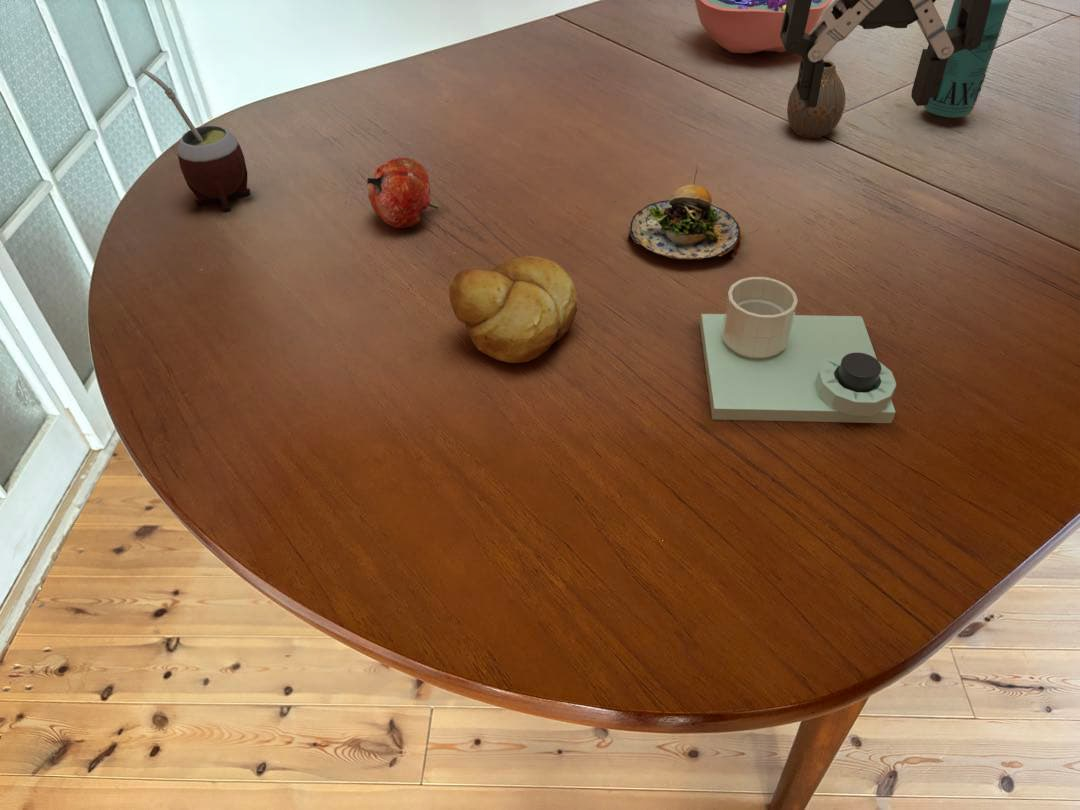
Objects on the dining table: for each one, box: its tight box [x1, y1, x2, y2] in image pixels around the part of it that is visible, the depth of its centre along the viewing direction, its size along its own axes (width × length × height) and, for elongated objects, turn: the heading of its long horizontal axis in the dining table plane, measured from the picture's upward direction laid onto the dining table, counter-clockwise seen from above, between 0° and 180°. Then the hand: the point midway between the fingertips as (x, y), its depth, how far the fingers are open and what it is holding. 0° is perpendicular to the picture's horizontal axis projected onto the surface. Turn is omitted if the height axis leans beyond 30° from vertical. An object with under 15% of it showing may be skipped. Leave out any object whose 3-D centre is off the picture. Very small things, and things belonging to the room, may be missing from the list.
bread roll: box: [448, 255, 579, 364], centre depth 79 cm, size 13×10×8 cm
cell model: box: [694, 0, 833, 54], centre depth 126 cm, size 17×20×11 cm
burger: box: [627, 168, 742, 261], centre depth 90 cm, size 12×12×8 cm
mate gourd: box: [139, 66, 251, 213], centre depth 96 cm, size 8×8×15 cm
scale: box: [699, 313, 897, 424], centre depth 76 cm, size 15×14×3 cm
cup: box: [722, 276, 799, 359], centre depth 77 cm, size 6×6×5 cm
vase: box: [786, 59, 846, 139], centre depth 108 cm, size 7×7×9 cm
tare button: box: [837, 353, 881, 393], centre depth 72 cm, size 3×3×2 cm
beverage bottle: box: [923, 0, 1012, 118], centre depth 106 cm, size 6×7×20 cm
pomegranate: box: [366, 157, 439, 229], centre depth 95 cm, size 7×7×10 cm
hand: (863, 102), depth 68 cm, fingers open, 8 cm apart
